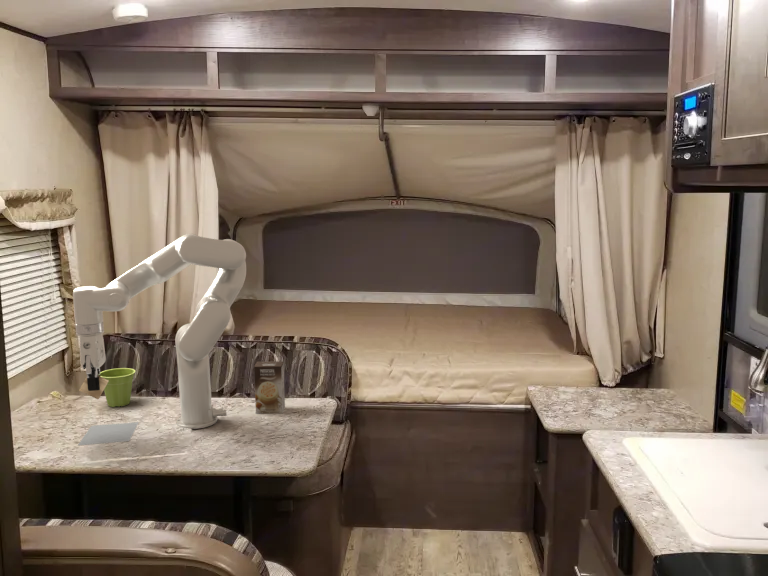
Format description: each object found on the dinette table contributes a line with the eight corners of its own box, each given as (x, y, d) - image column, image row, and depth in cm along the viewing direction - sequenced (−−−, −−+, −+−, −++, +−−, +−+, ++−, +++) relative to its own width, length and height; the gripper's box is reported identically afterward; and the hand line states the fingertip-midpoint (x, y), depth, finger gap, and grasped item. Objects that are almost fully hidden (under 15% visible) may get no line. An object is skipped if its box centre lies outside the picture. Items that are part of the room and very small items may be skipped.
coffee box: (254, 414, 214) (252, 366, 212) (258, 407, 221) (256, 361, 218) (283, 413, 214) (281, 366, 212) (285, 407, 221) (283, 360, 218)
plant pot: (124, 410, 220) (121, 378, 218) (93, 408, 222) (90, 376, 221) (144, 399, 231) (142, 368, 229) (114, 397, 234) (112, 366, 232)
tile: (99, 397, 197) (109, 380, 196) (98, 399, 195) (107, 381, 195) (80, 388, 195) (90, 371, 195) (78, 390, 194) (88, 372, 194)
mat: (138, 423, 207) (138, 422, 207) (129, 443, 192) (129, 441, 192) (91, 427, 205) (91, 425, 205) (77, 447, 189) (77, 445, 189)
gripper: (97, 333, 186) (102, 396, 189) (109, 322, 201) (113, 381, 203) (68, 335, 184) (74, 398, 187) (83, 324, 199) (87, 382, 202)
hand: (94, 389), depth 195 cm, fingers closed on tile, 1 cm apart
